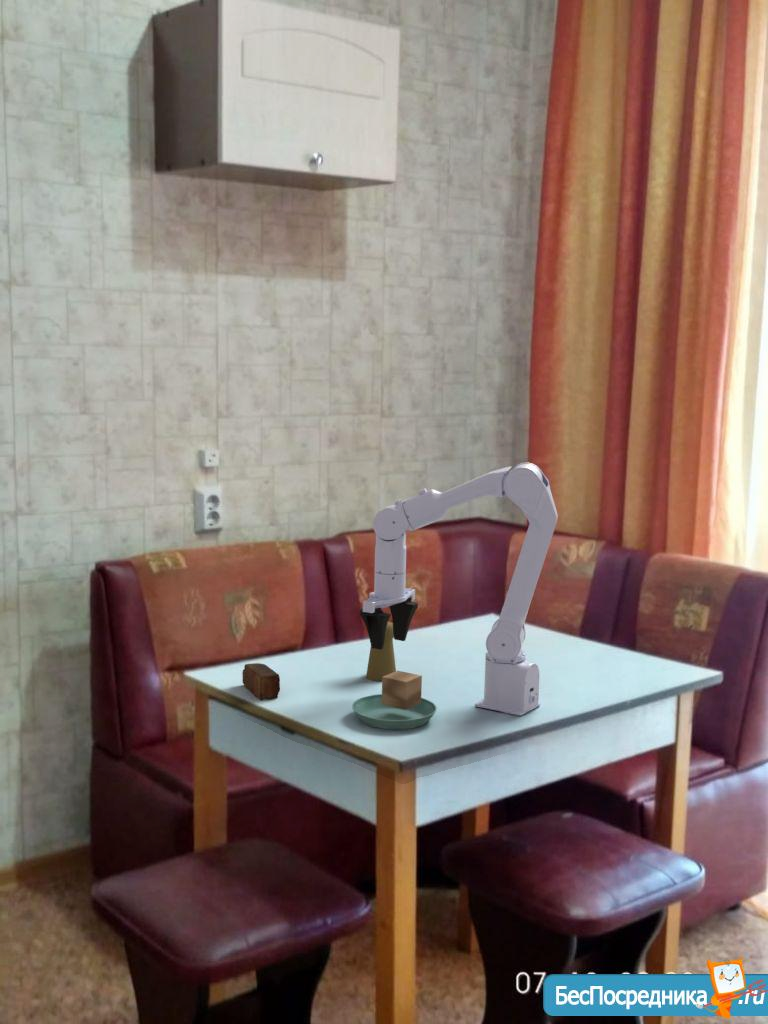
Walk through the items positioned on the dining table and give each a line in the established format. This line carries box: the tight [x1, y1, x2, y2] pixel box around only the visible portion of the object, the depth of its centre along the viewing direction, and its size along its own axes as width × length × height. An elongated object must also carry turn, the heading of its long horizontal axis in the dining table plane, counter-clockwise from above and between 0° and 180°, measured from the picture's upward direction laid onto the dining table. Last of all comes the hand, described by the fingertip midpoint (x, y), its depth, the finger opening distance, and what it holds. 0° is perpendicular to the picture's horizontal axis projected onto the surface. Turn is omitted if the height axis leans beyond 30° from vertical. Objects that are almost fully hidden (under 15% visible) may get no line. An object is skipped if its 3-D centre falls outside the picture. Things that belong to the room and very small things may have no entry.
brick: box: [241, 662, 281, 701], centre depth 220 cm, size 11×4×5 cm, turn 25°
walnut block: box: [381, 670, 423, 710], centre depth 207 cm, size 5×5×5 cm
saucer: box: [351, 693, 438, 730], centre depth 206 cm, size 15×15×3 cm
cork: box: [365, 621, 397, 682], centre depth 231 cm, size 6×6×11 cm
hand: (388, 644), depth 218 cm, fingers open, 7 cm apart
